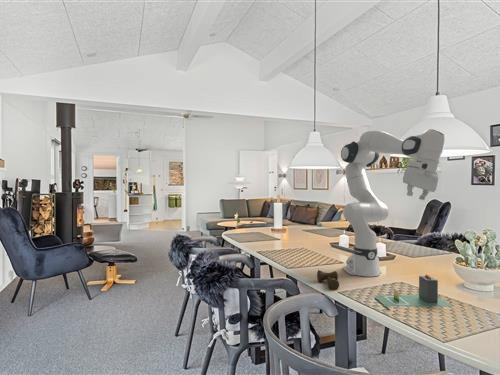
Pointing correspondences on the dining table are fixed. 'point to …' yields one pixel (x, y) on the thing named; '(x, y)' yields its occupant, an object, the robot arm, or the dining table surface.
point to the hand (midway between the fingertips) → (415, 197)
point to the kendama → (329, 279)
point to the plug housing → (428, 289)
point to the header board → (407, 301)
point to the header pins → (396, 295)
